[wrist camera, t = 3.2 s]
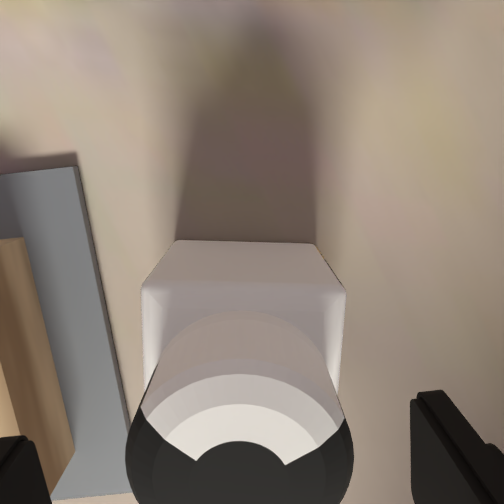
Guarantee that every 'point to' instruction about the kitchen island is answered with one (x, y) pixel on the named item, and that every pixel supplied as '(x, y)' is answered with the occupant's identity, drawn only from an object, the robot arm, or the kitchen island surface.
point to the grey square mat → (72, 323)
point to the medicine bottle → (241, 378)
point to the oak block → (29, 367)
